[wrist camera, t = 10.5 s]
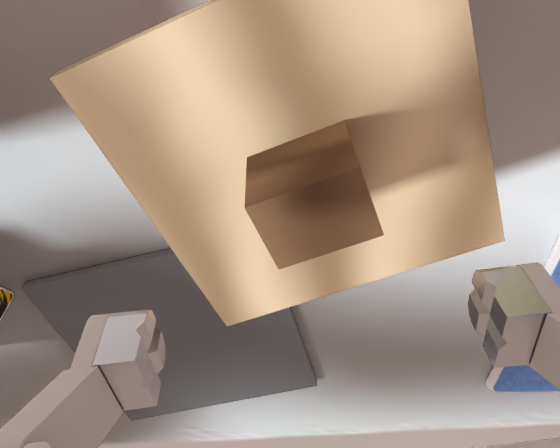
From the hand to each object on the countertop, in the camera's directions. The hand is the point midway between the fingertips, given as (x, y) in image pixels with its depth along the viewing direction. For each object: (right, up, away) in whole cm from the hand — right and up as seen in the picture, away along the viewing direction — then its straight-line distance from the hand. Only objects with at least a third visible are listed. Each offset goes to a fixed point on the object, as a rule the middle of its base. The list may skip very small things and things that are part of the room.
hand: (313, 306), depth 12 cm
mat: (-8, -6, +22) cm, 24 cm away
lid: (0, +5, +7) cm, 9 cm away
